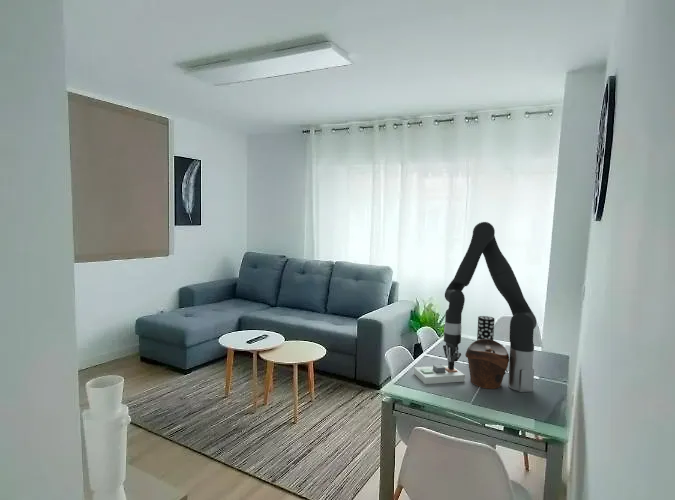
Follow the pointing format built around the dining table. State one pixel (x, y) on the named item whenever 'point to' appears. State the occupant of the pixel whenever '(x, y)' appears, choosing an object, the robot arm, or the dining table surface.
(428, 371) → the key sage
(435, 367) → the key charcoal
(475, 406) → the dining table surface
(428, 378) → the keypad board
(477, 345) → the brown wooden rounded tub
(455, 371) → the key terracotta
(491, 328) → the white-spotted black cylinder
